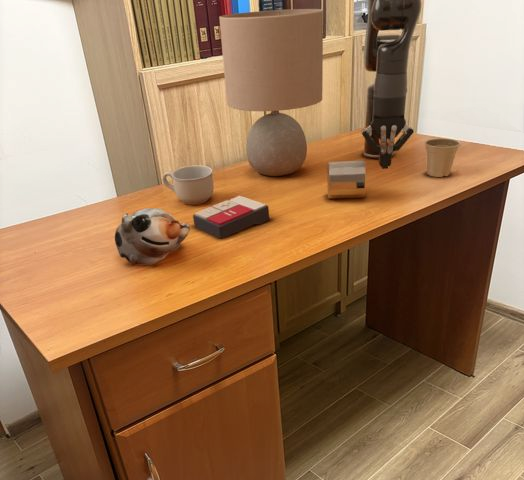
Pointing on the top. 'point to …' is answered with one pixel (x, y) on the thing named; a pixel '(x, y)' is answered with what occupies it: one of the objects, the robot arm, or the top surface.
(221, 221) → the flat box
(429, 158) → the flower pot
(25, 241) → the top surface
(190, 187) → the teacup
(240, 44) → the lamp
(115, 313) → the top surface
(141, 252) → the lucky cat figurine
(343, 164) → the pot
